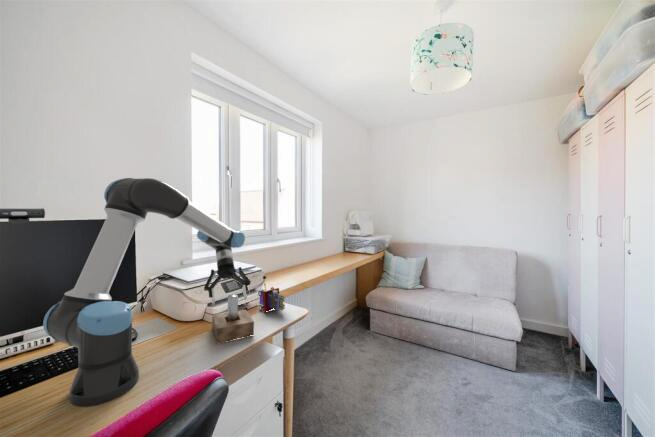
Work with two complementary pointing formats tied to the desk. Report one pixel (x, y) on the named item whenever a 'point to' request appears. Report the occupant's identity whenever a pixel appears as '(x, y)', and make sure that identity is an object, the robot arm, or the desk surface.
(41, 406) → the desk surface
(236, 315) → the steel pin
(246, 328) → the walnut socket block
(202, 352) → the desk surface
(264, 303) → the robot toy
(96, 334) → the robot arm
